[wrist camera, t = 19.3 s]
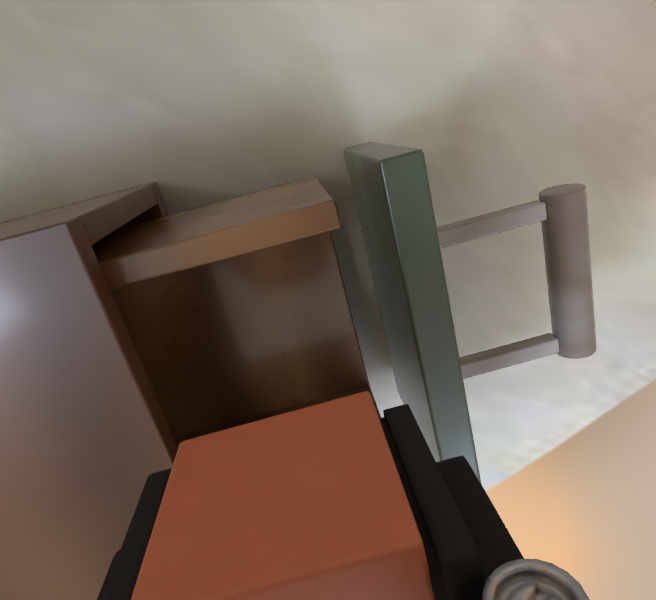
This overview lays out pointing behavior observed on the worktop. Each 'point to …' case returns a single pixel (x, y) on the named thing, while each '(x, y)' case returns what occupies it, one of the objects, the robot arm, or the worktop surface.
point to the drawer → (328, 299)
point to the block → (287, 514)
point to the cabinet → (70, 402)
